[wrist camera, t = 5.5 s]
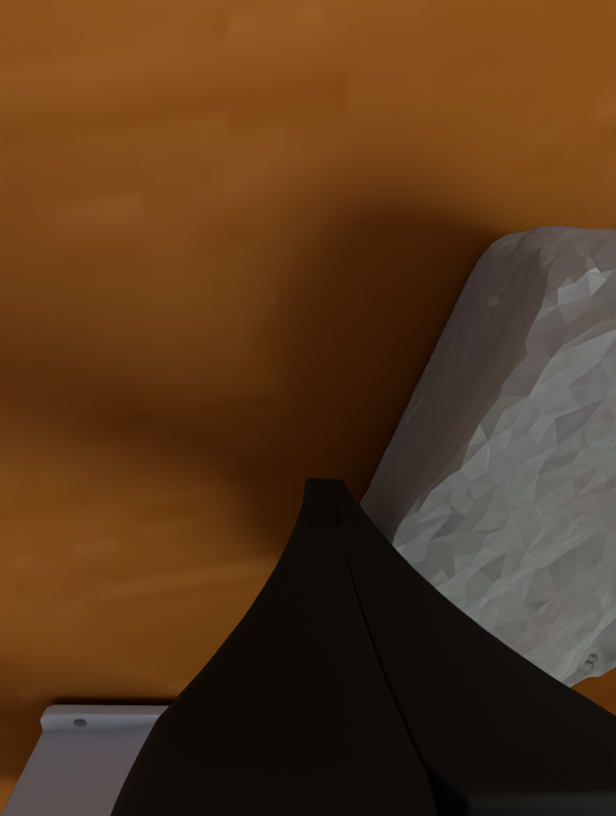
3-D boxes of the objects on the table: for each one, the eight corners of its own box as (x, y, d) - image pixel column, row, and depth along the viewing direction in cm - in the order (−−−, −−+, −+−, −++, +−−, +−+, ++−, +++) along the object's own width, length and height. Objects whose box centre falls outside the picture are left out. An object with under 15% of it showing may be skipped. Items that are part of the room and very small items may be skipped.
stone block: (713, 316, 12) (464, 195, 9) (974, 378, 8) (699, 192, 4) (511, 578, 17) (298, 567, 13) (611, 702, 13) (338, 733, 9)
